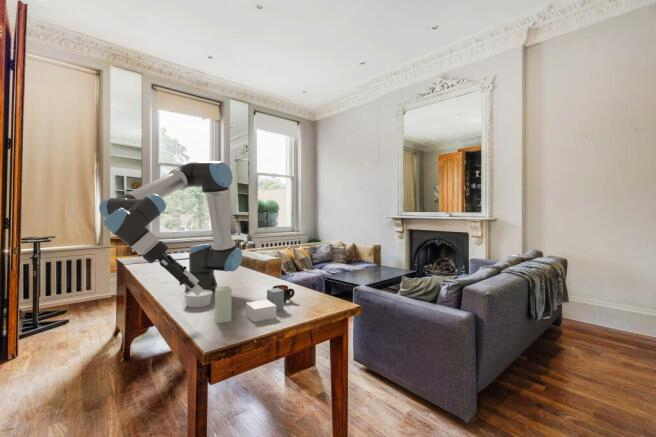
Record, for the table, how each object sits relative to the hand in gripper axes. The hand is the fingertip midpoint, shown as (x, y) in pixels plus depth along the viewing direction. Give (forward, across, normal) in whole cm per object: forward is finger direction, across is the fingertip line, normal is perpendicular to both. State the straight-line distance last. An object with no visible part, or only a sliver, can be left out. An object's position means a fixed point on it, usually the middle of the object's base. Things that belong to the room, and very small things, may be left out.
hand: (198, 287), depth 108 cm
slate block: (+31, -5, +12) cm, 34 cm away
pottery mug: (+36, -14, +17) cm, 42 cm away
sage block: (+16, -1, -3) cm, 16 cm away
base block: (+26, +1, +7) cm, 26 cm away
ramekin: (+11, -24, -8) cm, 27 cm away
